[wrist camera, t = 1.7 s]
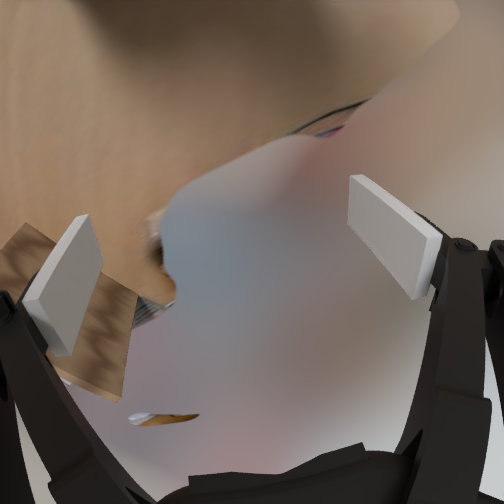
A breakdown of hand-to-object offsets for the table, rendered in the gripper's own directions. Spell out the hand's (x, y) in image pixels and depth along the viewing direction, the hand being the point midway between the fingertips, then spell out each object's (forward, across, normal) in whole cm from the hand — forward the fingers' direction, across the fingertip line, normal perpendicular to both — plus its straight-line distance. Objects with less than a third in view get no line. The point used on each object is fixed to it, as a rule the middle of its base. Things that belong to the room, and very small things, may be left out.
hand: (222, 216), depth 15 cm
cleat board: (+27, -27, -20) cm, 43 cm away
